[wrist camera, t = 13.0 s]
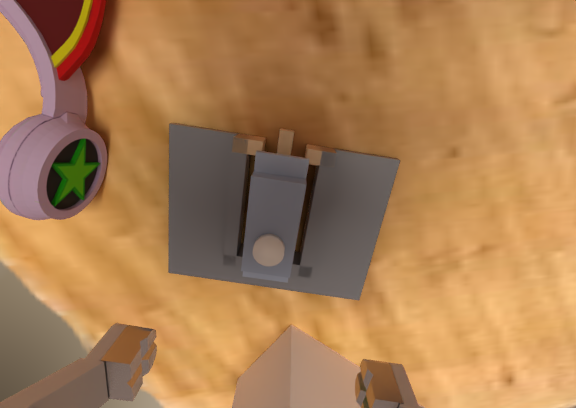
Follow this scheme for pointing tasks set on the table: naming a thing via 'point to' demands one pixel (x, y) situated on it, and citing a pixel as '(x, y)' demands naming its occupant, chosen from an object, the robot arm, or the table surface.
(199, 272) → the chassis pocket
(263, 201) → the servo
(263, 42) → the table surface
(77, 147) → the headphones
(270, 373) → the double compartment bin
